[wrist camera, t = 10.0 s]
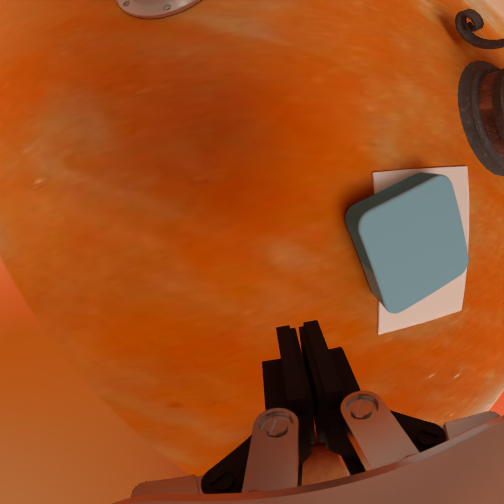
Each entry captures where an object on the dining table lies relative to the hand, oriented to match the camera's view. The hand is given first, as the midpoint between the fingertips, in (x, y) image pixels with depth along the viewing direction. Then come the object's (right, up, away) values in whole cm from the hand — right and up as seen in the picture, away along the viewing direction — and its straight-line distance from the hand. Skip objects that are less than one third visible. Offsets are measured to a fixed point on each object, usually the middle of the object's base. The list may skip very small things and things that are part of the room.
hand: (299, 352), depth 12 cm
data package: (+10, +3, +18) cm, 20 cm away
